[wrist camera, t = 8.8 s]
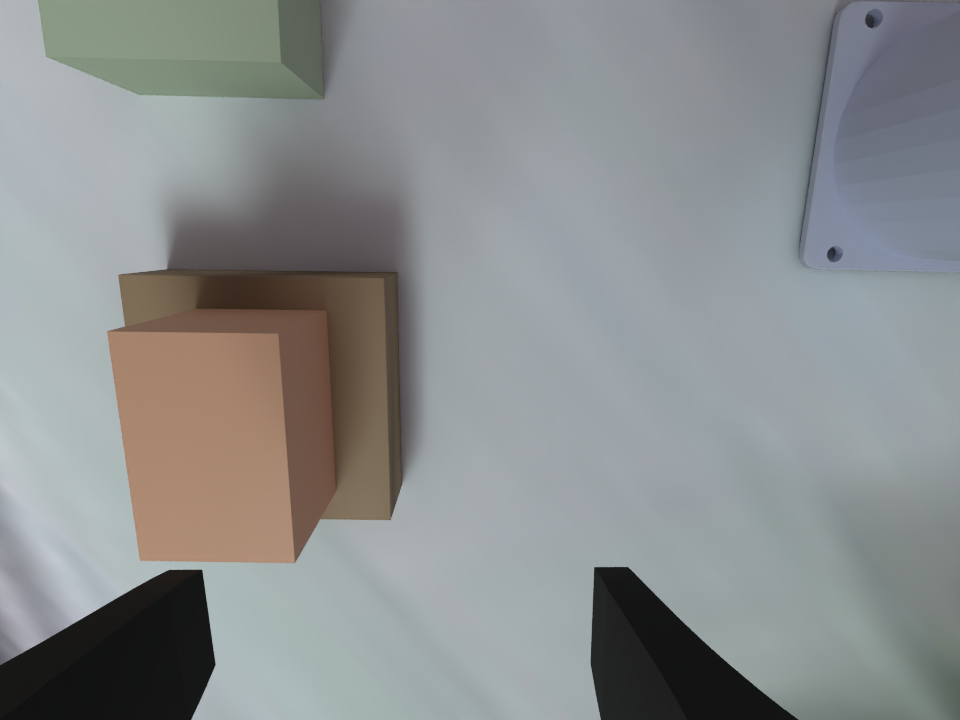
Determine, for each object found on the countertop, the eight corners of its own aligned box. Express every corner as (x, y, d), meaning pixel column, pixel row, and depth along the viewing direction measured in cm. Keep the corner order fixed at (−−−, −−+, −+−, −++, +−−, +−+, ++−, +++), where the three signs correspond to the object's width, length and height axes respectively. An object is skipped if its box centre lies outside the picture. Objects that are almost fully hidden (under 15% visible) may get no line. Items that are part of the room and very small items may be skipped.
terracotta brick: (335, 491, 18) (294, 563, 14) (214, 489, 18) (140, 560, 14) (326, 310, 17) (278, 333, 13) (195, 308, 17) (107, 331, 13)
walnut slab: (398, 271, 19) (384, 278, 16) (403, 480, 21) (390, 520, 18) (173, 268, 19) (118, 274, 16) (196, 477, 21) (150, 517, 18)
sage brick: (320, -39, 17) (271, -122, 13) (325, 100, 18) (281, 62, 14) (127, -44, 17) (20, -128, 13) (141, 96, 18) (46, 56, 14)
